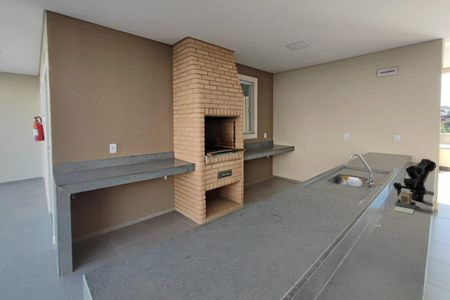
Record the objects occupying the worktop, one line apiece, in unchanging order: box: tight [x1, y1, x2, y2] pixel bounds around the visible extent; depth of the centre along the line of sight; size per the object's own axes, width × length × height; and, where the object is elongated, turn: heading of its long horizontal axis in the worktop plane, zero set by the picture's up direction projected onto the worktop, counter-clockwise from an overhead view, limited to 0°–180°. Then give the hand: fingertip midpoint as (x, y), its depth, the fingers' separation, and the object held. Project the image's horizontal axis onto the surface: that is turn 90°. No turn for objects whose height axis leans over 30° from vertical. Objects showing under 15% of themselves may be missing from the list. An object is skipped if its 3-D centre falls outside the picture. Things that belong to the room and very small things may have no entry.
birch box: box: [400, 190, 413, 205], centre depth 161 cm, size 5×5×10 cm
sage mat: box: [393, 206, 415, 215], centre depth 153 cm, size 10×10×1 cm
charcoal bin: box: [394, 198, 417, 211], centre depth 161 cm, size 11×11×3 cm
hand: (405, 197), depth 160 cm, fingers open, 9 cm apart
